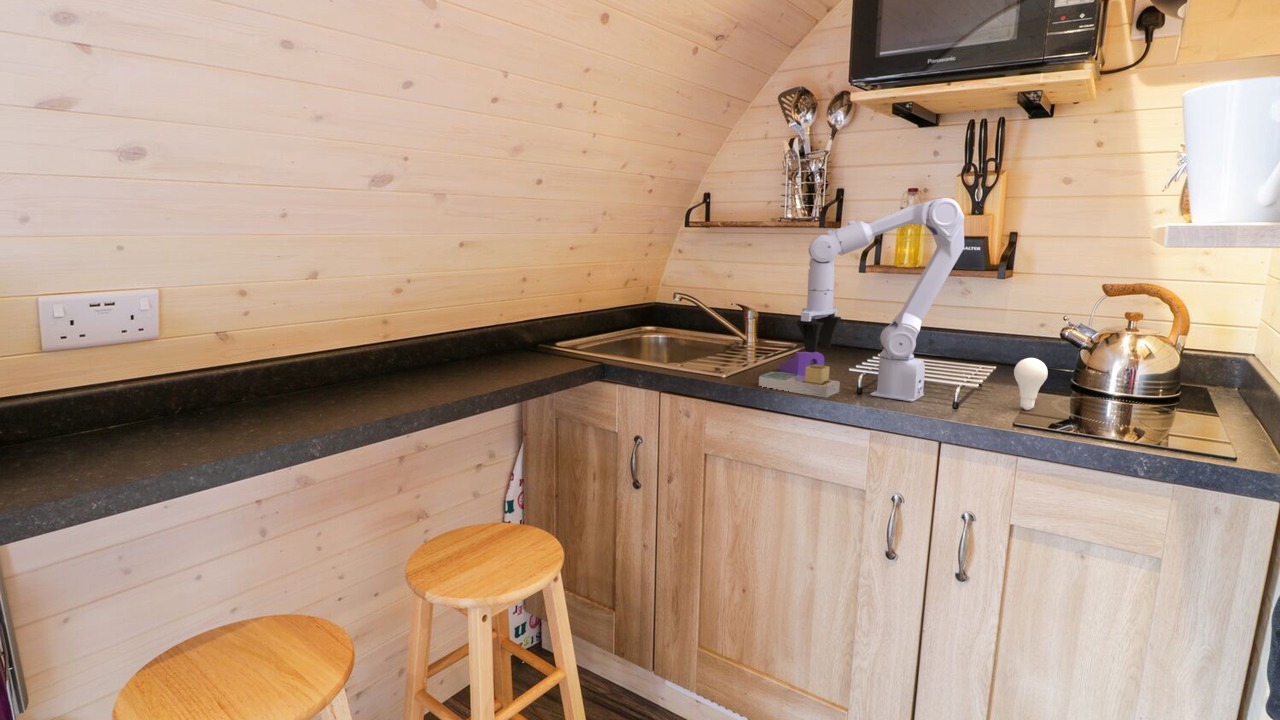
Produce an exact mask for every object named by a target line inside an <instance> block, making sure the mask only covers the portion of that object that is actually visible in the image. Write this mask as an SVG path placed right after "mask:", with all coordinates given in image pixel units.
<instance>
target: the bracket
mask: <svg viewBox="0 0 1280 720" xmlns="http://www.w3.org/2000/svg"><path fill="white" fill-rule="evenodd" d="M811 361H813V363H812V364H811ZM814 364H817V365H825V356H824V355H823V353H820V352H818V351H816V352H815V353H812V352H806V351H795V355H794V357H792V358H791V359H789V360H786V361H785V362H783V363H781V364H779V366H778V368H779V370H778V371H779V372H784V373H791V374H798V375H799V376H805V369H806V367H808V366H810V365H814Z"/></svg>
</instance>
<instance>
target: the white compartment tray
mask: <svg viewBox="0 0 1280 720" xmlns="http://www.w3.org/2000/svg"><path fill="white" fill-rule="evenodd" d="M840 382H841V381H838V380H832V379H829V383H827V384H824V385H818V384H812V383H805V376H799V375H798V374H791V373H784V372H782V371H770V372H766V373H763V374H761V375H760V376H759V377H758V387H759V386H762V387H761V388H763V387H767V388H766V389H769V388H773V389H772V390H776V389H778V390H777V391H782V390H784V392H788V391H789V393H794V394H795V393H796V394H801V395H808V396H814V397H819V398H826V399H827V398H829V397H830V396H833V395H836V394H838V393H839V392H840V384H841V383H840Z"/></svg>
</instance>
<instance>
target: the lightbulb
mask: <svg viewBox="0 0 1280 720" xmlns="http://www.w3.org/2000/svg"><path fill="white" fill-rule="evenodd" d="M1048 374H1049V371H1048V367H1047V366H1046V364H1045V363H1044V362H1043V361H1042V360H1040V359H1038V358H1035V357H1026V358H1024V359H1021V360H1020V361H1018V362H1017V363H1016V365H1015V367H1014V369H1013V375H1014V378H1015V381H1016V382H1017V385H1018V389H1019V397H1020V403H1019V404H1020V407H1021V408H1022V409H1023V410H1025V411H1030V410H1031V409H1033V408H1035V402H1036V399H1037V398H1038V393H1039V391H1040V388H1041V386H1043V384H1044V383H1045V381H1047V379H1048Z"/></svg>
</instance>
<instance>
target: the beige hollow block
mask: <svg viewBox="0 0 1280 720" xmlns="http://www.w3.org/2000/svg"><path fill="white" fill-rule="evenodd" d="M829 380H830V366H827V365H825V364H824V365H817V364H814V365H810V366H808V367H806V369H805V383H812V384H818V385H824V384H827V383H829Z"/></svg>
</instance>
